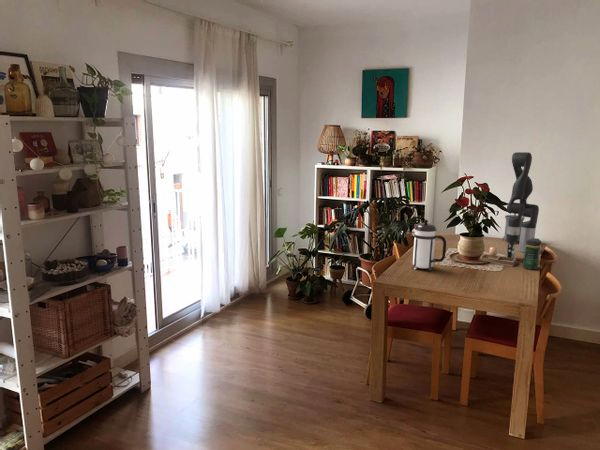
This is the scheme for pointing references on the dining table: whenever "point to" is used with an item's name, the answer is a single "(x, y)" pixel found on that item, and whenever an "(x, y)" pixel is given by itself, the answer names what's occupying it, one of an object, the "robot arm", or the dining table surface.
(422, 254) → the coffee press
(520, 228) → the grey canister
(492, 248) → the peach oval shape
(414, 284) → the dining table surface
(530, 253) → the coffee jar
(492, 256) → the walnut tray
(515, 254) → the sage block
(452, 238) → the dining table surface
